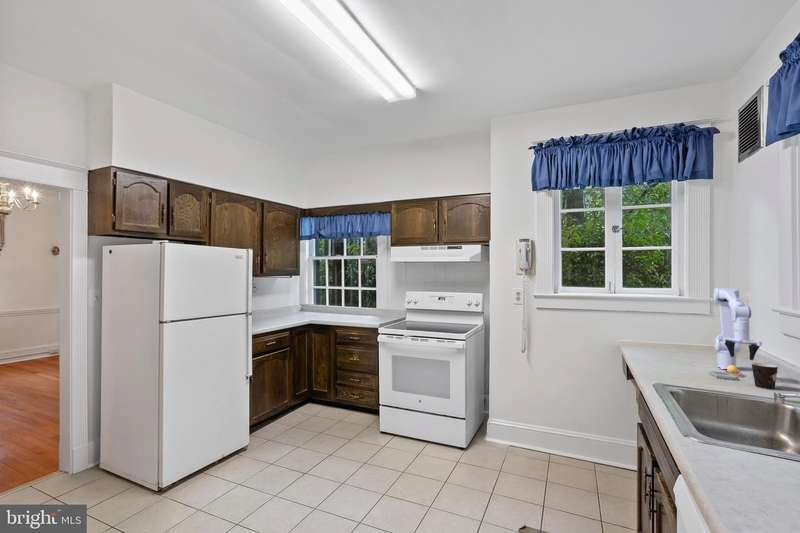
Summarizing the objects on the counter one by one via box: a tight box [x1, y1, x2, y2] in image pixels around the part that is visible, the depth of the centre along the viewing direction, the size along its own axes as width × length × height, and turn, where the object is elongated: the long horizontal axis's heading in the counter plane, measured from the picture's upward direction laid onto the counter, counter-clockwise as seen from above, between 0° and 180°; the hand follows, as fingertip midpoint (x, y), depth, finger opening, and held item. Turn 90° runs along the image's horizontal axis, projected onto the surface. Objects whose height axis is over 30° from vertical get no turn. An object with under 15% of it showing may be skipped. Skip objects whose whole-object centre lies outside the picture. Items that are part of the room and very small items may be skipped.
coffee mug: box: [751, 362, 779, 390], centre depth 172 cm, size 12×9×10 cm
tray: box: [709, 370, 739, 381], centre depth 189 cm, size 10×8×2 cm
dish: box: [721, 370, 744, 378], centre depth 194 cm, size 8×8×1 cm
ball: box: [727, 365, 739, 373], centre depth 194 cm, size 4×4×4 cm
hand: (741, 358), depth 187 cm, fingers open, 7 cm apart
